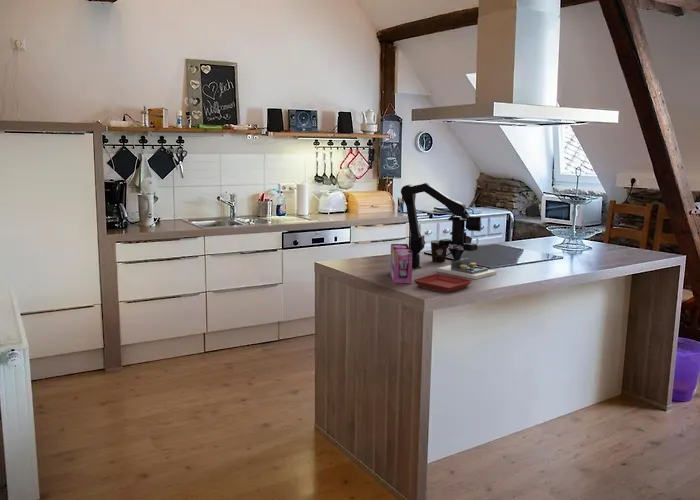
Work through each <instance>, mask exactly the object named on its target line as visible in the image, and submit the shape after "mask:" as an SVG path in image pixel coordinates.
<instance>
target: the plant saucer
mask: <svg viewBox="0 0 700 500" xmlns="http://www.w3.org/2000/svg"><path fill="white" fill-rule="evenodd" d="M472 280H473V279H469V278H468V279H467V278H464V277H456V276H453V275H447V274H443V273H442V274H441V273H433V274H429V275H426V276H422V277H418V278H413V282H414V283H415V284H416V285H417V286H418V287H419V286H420V288H422V287H424V289H427V288H429V289H428V290H432V289H434V290H433V291H437V290H439V292H442V291H444V292H443V293H451V292H455V291H458V290H460V289H461V290H462V289H463V288H466V287H467V286H469V285H470V283H472Z"/></svg>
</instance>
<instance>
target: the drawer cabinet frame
mask: <svg viewBox="0 0 700 500" xmlns="http://www.w3.org/2000/svg"><path fill="white" fill-rule="evenodd" d="M469 261H470V258H469V257H464V258H460V259H459V260H454V259H453V260H451V263H450V265H451V270H455V271H460V272H465V273H470V274H474V273H479V272H483V271H487V270H489V268H488V267H483V266H478V265H476V266H474V267H471V266H469V264H470V263H469ZM460 265H467V268H465V269H462V268H460Z"/></svg>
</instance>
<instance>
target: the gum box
mask: <svg viewBox="0 0 700 500" xmlns="http://www.w3.org/2000/svg"><path fill="white" fill-rule="evenodd" d="M389 264H390V265H389V266H390V270H389V271H390V276H391V279H392V282H393V284H396V283H411V284H412V281H413V278H412V277H413V274H412V273H413V269H412V251H411V249H410V245H408V243H391V244H390V263H389Z"/></svg>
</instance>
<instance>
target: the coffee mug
mask: <svg viewBox="0 0 700 500" xmlns="http://www.w3.org/2000/svg"><path fill="white" fill-rule="evenodd" d="M440 240H441V239H440ZM440 240H437V239H436V240H431V241H430V249H431V250H430V251H431V260H432V261H431V262H433V263H438V264H439V263H445V262H446V258H447V256H449V255H452V254H451V252H449V253H448V254H447V251H448V248H449V246H448V245H445V246H444V247H441V246H438V242H439V241H440Z"/></svg>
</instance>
